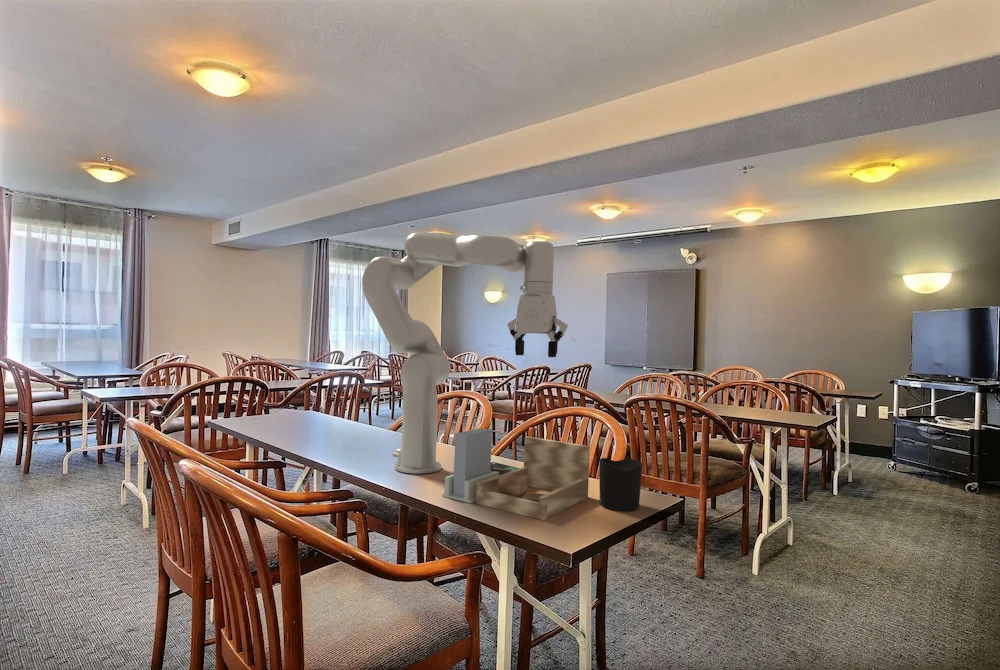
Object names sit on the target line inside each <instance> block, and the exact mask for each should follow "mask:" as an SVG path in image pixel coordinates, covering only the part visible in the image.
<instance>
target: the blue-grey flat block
mask: <svg viewBox="0 0 1000 670" xmlns="http://www.w3.org/2000/svg"><path fill="white" fill-rule="evenodd" d="M492 433H493V429H490V428H489V429H488V428H482V427H481V428H477V429H471V430H467V431H461V432H457V433H455V434H454V435H455V436H454V461H453V463H454V464H453V474H454V486H453V495H456V496H460V497H464V482H465V481H467V480H470V479H473V478H476V477H479V476H482V475H485V474H488V473H490V469H491V462H492V438H493V437H492V436H493V434H492Z"/></svg>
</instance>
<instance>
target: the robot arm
mask: <svg viewBox="0 0 1000 670" xmlns="http://www.w3.org/2000/svg"><path fill="white" fill-rule="evenodd" d="M404 252H405V254H406V256H405V257H403V258H402V259H398V258H395V257H392V256H387V255H386V256H385V255H384V256H383V255H381V256H376V257H375V258H373V259H372V260H370V261H369V262H368V264H367V265H366V267H365V269H364V271H363V274H362V281H361V284H362V286H361V287H362V292H363V295H364V298H365V299H366V302H367V303H368V305H369V307H370V309H371V310H372V313H373V314H374V316H375V318H376V320H377V323H378V324H379V326H380V328H381V331H382V332H383V335H384V336H385V338H386V339H387V342H388V344H389V346H390V347H391V348H392V350H394V351H395V352H396V353H400V354H409V356H408V358H406V359H405V360H404V361H403V364H402V367H401V371H400V380H401V387H402V389H401V390H402V422H401V423H402V424H401V428H402V429H401V446H400V447H401V448H397V449H395V451H394V452H392V454H391V456H392V457H394V458H397V462H396V463H394V469H395V470H396V471H397V472H401V473H404V474H414V475H415V474H417V475H418V474H421V475H423V474H430V473H431V474H432V473H436V472H439V471H440V470H441V469H442V463H441V462H440V461H437V439H438V417H439V415H438V411H439V405H438V404H439V401H438V400H439V399H438V398H439V397H438V392H437V386H438V385H441V384H443V383H444V382H446V381H447V379H448V377H449V376H450V371H451V368H450V363H449V359H448V357H447V356H446V354H445V351H444V350H443V348H442V346H441V344H440V343H439V340H438V339H437V336H436V335H435V334H434V332H433V330H432V329H431V327H430V326H429V325H427V324H426V323H425V322H424V321H421V320H416V319H413V318H412V317H411V315H410V313H409V311H408V310H407V307H406V306H405V304H404V302H403V301H402V299H401V298H400V297H399V295H398V294H397V292H396V290H398V291H399V290H401V291H404V290H407V289H410V288H411V287H413V286H415V285H416V284H417V283H418V282H420V281H421V280H423V279H424V277H426V276H428V275H429V274H430V273H431V272H432V271H434V270H435V269H436V268H437V267H438V266H448V267H455V268H456V267H457V268H460V267H461V268H463V267H464V266H466V265H480V266H482V265H483V266H491V267H499V268H501V269H504V270H505V271H508V272H521V271H523V284H522V285H520V286H519V291H520V292H522V293H523V294H520V296H519V299H518V303H517V309H516V318H514V319H512V320H511V321H509V322H508V323H507V327H508V330H509V333H510V336H512V337H513V340H514V341H515V342H514V343H515V344H514V350H515V351H514V352H515V356H524V355H525V340H524V338H525V336H526V335H527V334H539V335H547V337H548V339H549V340H550V341H548V343H547V344H548V346H547V357H548V358H556V357H557V354H558V344H559V343H558V342H560V340H561V339H562V338H563V337H564V335H565V332H566V331H567V329H568V327H569V325H568V324H567V323H565V322H564V321H563V320H560V319H559V318H557V317H558V313H557V311H558V310H557V303H556V298H555V295H554V294H553V291H554V290H553V287H554V286H553V284H554V283H553V282H554V259H555V258H554V257H555V256H554V255H555V247H554V245H553V243H551V242H548V241H543V240H538V241H537V240H535V241H530V242H527V244H521V243H518V242H516V241H515V240H513V239H512V238H509V237H504V236H495V235H483V234H478V235H477V234H470V235H469V234H463V235H462V234H452V233H450V234H449V233H440V232H439V233H438V232H428V231H417V232H413V233H411V234H409V235H408V236H407V237H406V239H405V241H404ZM557 327H559V330H558V331H557Z"/></svg>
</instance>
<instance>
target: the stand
mask: <svg viewBox="0 0 1000 670" xmlns="http://www.w3.org/2000/svg"><path fill="white" fill-rule="evenodd" d="M496 476H499V472H496V471H494V472H491V473H488V474H485V475H482V476H479V477H476V478H473V479H470V480H467V481H465V482H464V497H460V496H456V495H453V486H454V473H453V474H450V475H447V476H445V477H444V493H442V494H441V495H442V498H446V499H447V498H448V499H451V500H456V501H458V500H459V502H462V501H463V502H464V503H466V502H467V504H473V503H474V502H475V503H476V488H477V483H478V482H481V481H484V480H487V479H490V478H493V477H496Z"/></svg>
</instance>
